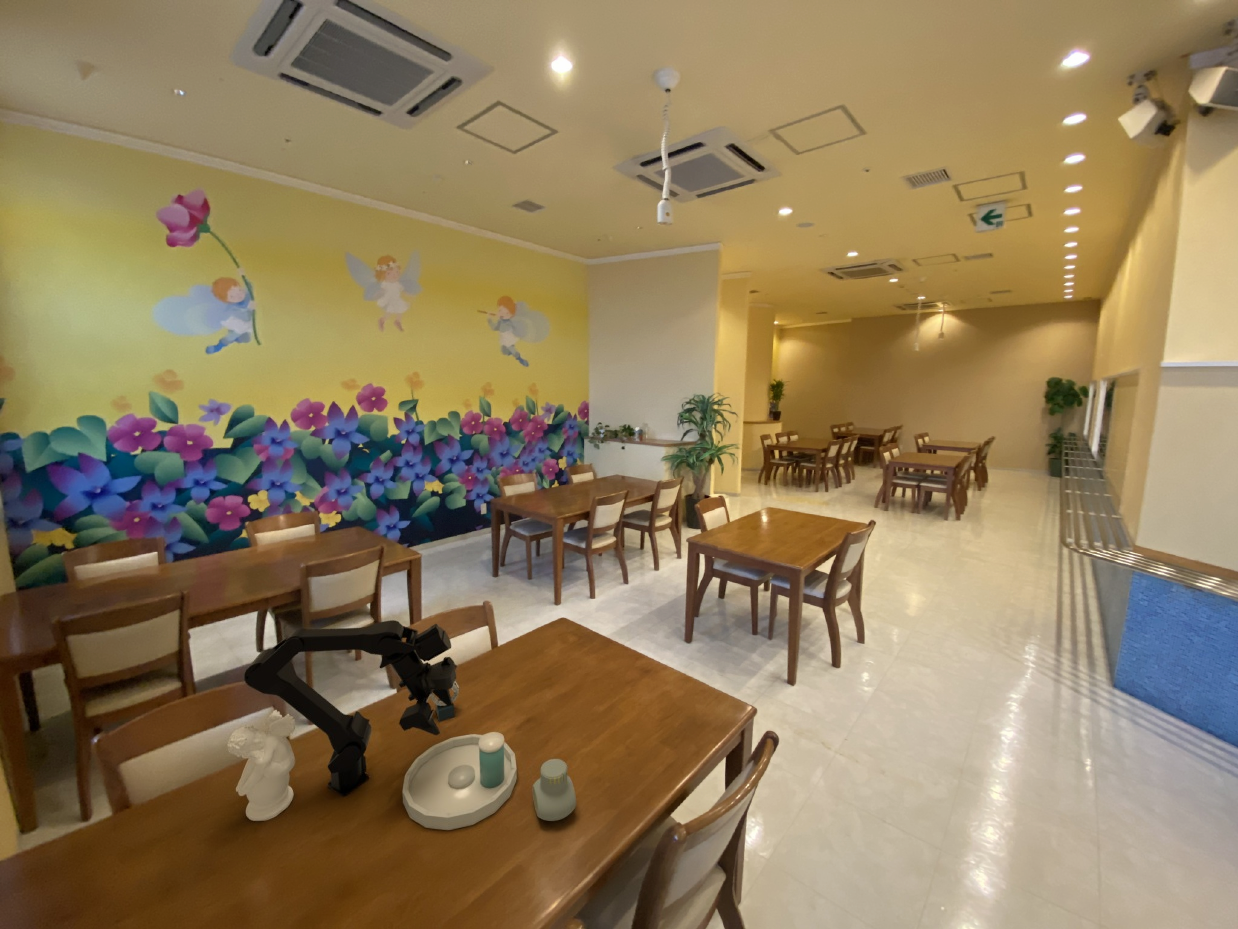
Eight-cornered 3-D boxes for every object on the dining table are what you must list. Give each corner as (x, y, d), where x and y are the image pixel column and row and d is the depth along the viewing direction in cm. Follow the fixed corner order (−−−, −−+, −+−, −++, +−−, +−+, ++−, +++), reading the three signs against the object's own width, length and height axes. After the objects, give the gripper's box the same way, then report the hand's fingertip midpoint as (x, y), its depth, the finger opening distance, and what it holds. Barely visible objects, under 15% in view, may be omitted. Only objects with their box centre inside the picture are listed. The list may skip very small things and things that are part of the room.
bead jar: (504, 787, 114) (503, 748, 113) (478, 790, 113) (477, 750, 112) (505, 768, 120) (504, 730, 118) (480, 771, 119) (479, 733, 117)
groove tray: (460, 849, 100) (459, 836, 99) (379, 799, 111) (378, 787, 111) (537, 767, 121) (537, 756, 121) (463, 733, 133) (462, 723, 133)
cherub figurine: (231, 827, 104) (217, 736, 99) (258, 779, 116) (246, 696, 111) (297, 815, 107) (285, 727, 102) (316, 770, 118) (307, 689, 114)
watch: (461, 714, 141) (460, 679, 139) (432, 723, 137) (430, 686, 135) (457, 703, 146) (456, 669, 144) (429, 712, 142) (427, 676, 140)
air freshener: (530, 794, 114) (530, 755, 112) (565, 784, 116) (566, 746, 115) (540, 834, 103) (540, 791, 102) (578, 822, 106) (578, 781, 105)
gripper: (426, 685, 106) (462, 738, 110) (453, 633, 124) (483, 680, 128) (382, 703, 107) (419, 755, 111) (414, 649, 125) (445, 696, 129)
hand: (444, 719), depth 120 cm, fingers open, 9 cm apart
